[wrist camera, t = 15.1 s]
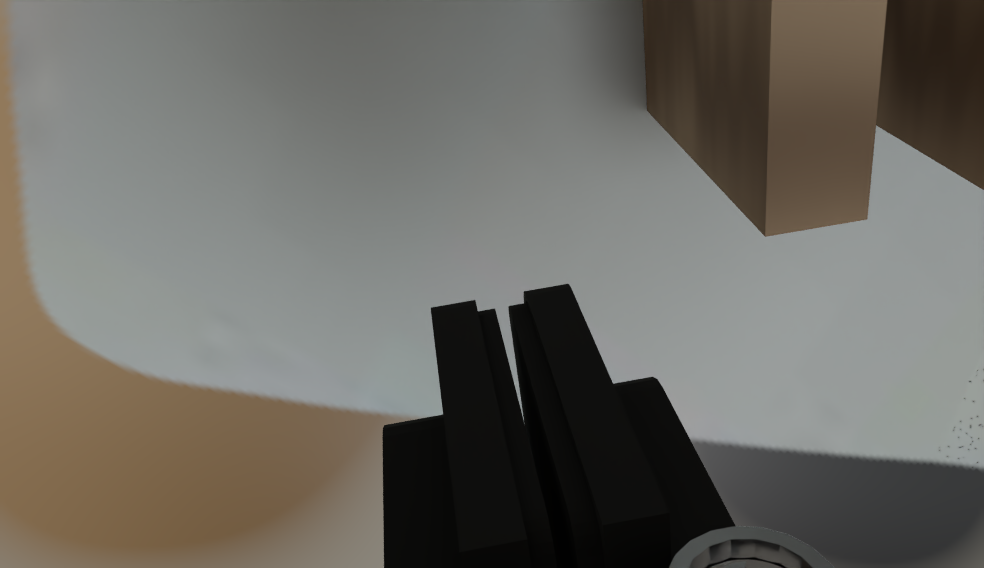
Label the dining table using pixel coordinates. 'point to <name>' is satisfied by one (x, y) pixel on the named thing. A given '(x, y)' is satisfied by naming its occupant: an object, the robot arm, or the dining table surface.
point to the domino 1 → (772, 101)
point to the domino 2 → (936, 81)
